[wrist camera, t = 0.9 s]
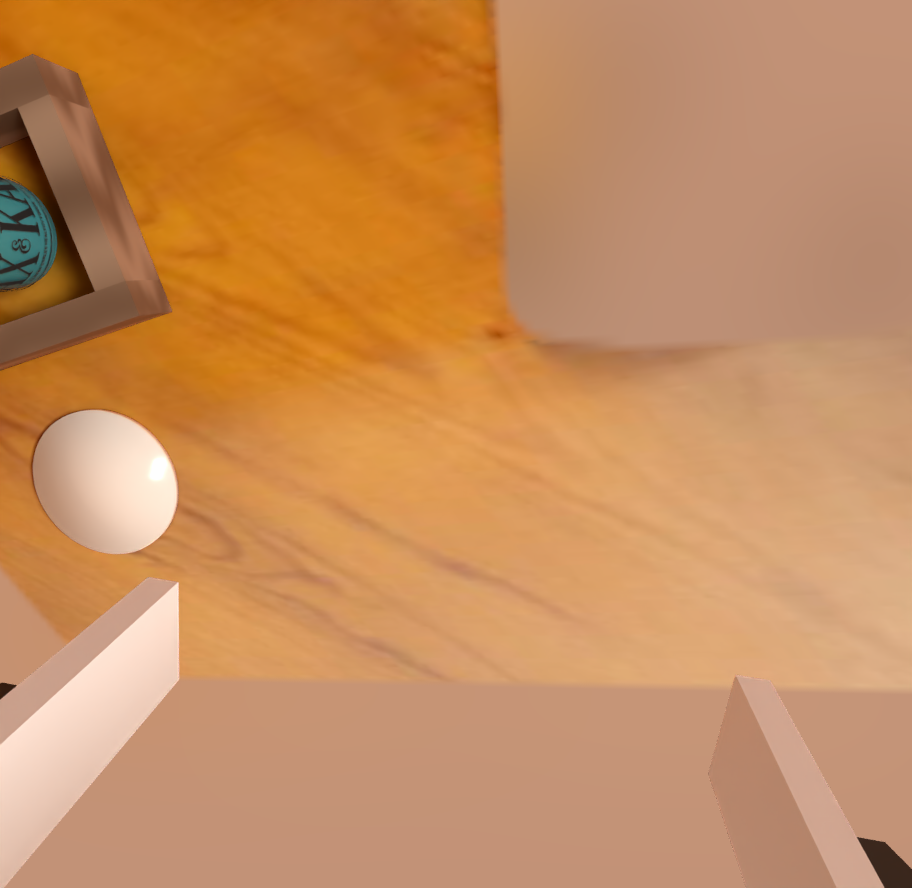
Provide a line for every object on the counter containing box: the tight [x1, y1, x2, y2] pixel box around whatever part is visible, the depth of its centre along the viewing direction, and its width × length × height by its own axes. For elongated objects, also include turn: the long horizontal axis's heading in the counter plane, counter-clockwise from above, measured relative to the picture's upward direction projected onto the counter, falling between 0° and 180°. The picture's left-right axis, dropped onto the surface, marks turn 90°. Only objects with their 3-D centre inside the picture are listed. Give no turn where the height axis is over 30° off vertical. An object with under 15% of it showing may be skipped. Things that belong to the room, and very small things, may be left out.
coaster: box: [33, 409, 179, 554], centre depth 44 cm, size 10×10×1 cm
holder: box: [0, 54, 172, 370], centre depth 39 cm, size 14×14×4 cm
